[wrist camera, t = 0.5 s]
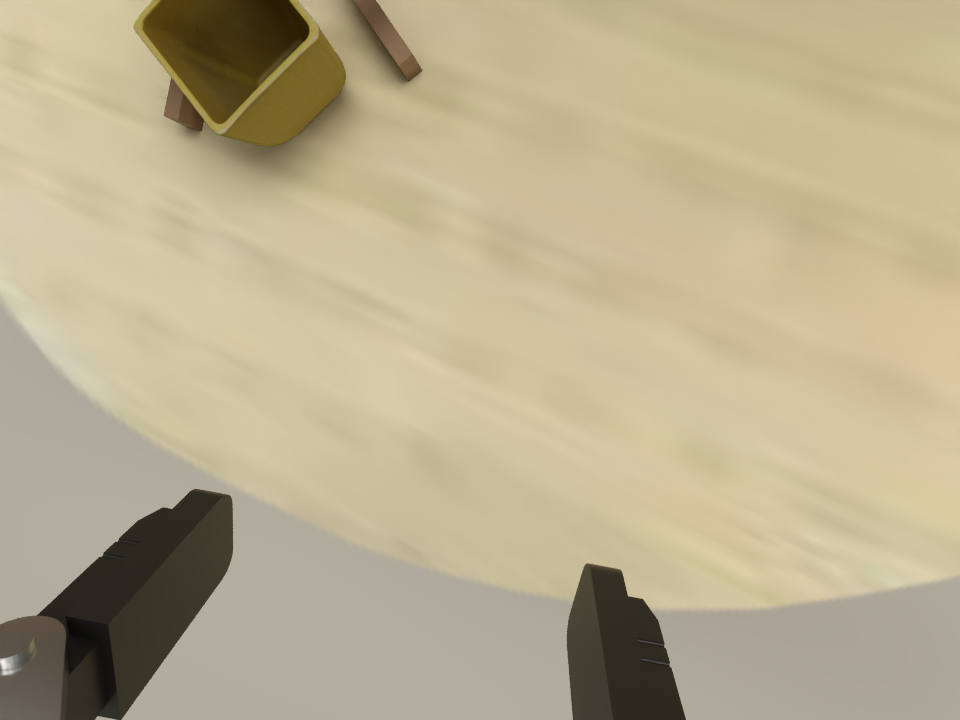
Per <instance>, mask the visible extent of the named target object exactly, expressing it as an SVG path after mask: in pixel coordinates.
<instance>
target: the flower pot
mask: <svg viewBox="0 0 960 720" xmlns="http://www.w3.org/2000/svg"><path fill="white" fill-rule="evenodd" d="M134 30H135V31H136V33H137V34H138V36H139V37H140V38H141V40H142V41H143V42H144V43H145V44H146V46H147V47H148V48H149V49H150V51H151V52H152V53H153V55H154V56H155V57H156V58H157V60H158V61H159V62H160V63H161V65H162V66H163V67H164V68H165V70H166V71H167V72H168V74H169V75H170V76H171V78H172V79H173V80H174V81H175V83H176V84H177V85H178V87H179V88H180V89H181V91H182V92H183V93H184V94H185V96H186V97H187V98H188V99H189V101H190V102H191V103H192V105H193V106H194V108H195V109H196V110H197V111H198V113H199V114H200V115H201V116H202V118H203V119H204V120H205V122H206V123H207V124H208V126H209V127H210V128H211V129H212V130H213V131H214V132H215V133H216V134H218V135H221V136H225V137H228V138H232V139H236V140H240V141H244V142H248V143H252V144H256V145H261V146H274V145H278V144H282V143H284V142H286V141H288V140H290V139H291V138H293V137H294V136H296V135H297V134H299V133H300V132H301V131H302V130H303V129H304V128H305V127H306V126H307V125H308V124H309V123H310V122H311V121H312V120H313V119H314V118H315V117H316V116H317V115H318V114H319V113H320V112H321V111H322V110H323V109H324V108H325V107H326V106H327V105H328V104H329V103H330V102H331V101H332V100H333V99H334V98H335V97H337V95H338V94H339V93H340V91H341V90H342V88H343V86H344V84H345V79H346V74H345V69H344V66H343V63H342V61H341V60H340V58H339V56H338V55H337V53H336V52H335V51H334V49H333V48H332V46H331V45H330V43H329V42H328V40H327V39H326V37H325V36H324V34H323V33H322V31H321V30H320V28H319V27H318V25H317V24H316V22H315V21H314V20H313V19H312V18H311V16H310V15H309V14H308V13H307V11H306V10H305V9H304V8H303V6H302V5H301V4H300V3H299V1H298V0H153V1H152V2H151V3H150V4H149V6H148V7H146V9H145V10H144V11H143V12H142V13H141V15H140V16H139V17H138V19H137V21H136V22H135V24H134Z"/></svg>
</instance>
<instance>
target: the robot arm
mask: <svg viewBox="0 0 960 720" xmlns="http://www.w3.org/2000/svg"><path fill="white" fill-rule="evenodd" d="M232 553H233V508H232V499H231V496H230V495H226V494H221V493H216V492H211V491H205V490H200V489H194V490H192V491H190V492H189V493H188V494H187V495H186V496H185V497H184V498H183V499H182V500H181V501H180V502H179V503H178V504H177V505H176V506H175V507H174V508H173V509H169V508H161V509H159V510H157V511H156V512H154V513H152V514H150V515H148V516H146V517H144V518H142V519H141V520H138V521H137V522H136V523H135V524H134V525H133V526H132V527H131V528H130V529H129V530H128V531H126V532H125V533H124V534H123V535H122V536H121V537H120V538H119V541H118V542H115V543H114V544H113V545H112V546H110V547H109V548H108V549H107V550H106V551H105V552H104V554H103V556H102V557H99V558H98V559H97V560H96V561H95V562H94V563H92V564H91V565H90V566H89V567H88V568H87V569H86V570H85V571H84V572H83V573H82V574H81V575H80V576H79V577H78V578H76V579H75V580H74V581H73V582H72V583H71V584H70V585H69V586H68V587H67V588H66V589H65V590H64V591H63V592H62V593H61V594H60V595H58V596H57V597H56V598H55V599H54V600H53V601H52V602H51V603H50V604H49V605H48V606H47V607H46V608H45V609H43V610H42V611H41V612H40V613H39V614H38V615H37V616H28V617H22V618H17V619H14V620H11V621H8V622H5V623H3V624H0V720H95V719H96V717H97V716H102V717H107V718H112V719H117V720H121V719H122V718H123V717H124V715H125V714H126V712H127V711H128V710H129V708H130V707H131V705H132V704H133V702H134V701H135V700H136V698H137V697H138V696H139V694H140V693H141V691H142V690H143V689H144V687H145V686H146V685H147V683H148V682H149V680H150V679H151V678H152V676H153V675H154V673H155V672H156V671H157V669H158V668H159V666H160V665H161V664H162V662H163V661H164V659H165V658H166V657H167V655H168V654H169V653H170V651H171V650H172V648H173V647H174V646H175V644H176V643H177V641H178V640H179V639H180V637H181V636H182V634H183V633H184V632H185V630H186V629H187V627H188V626H189V624H190V623H191V622H192V621H193V619H194V618H195V616H196V615H197V614H198V612H199V611H200V609H201V608H202V607H203V605H204V604H205V602H206V601H207V600H208V598H209V597H210V595H211V594H212V593H213V591H214V590H215V588H216V587H217V586H218V584H219V583H220V582H221V580H222V579H223V577H224V575H225V574H226V572H227V569H228V567H229V565H230V561H231V558H232ZM567 650H568V664H569V675H570V688H571V701H572V712H573V720H686V718H685V715H684V711H683V708H682V704H681V701H680V697H679V693H678V690H677V686H676V683H675V679H674V676H673V672H672V669H671V667H670V662H669V658H668V654H667V651H666V648H664V640H663V636H662V633H661V629H660V626H659V622H658V620H657V619H656V617H655V616H654V614H653V613H652V611H651V610H650V608H649V607H648V606H647V604H646V603H645V601H644V600H643V599H639V598H634V597H629V596H628V595H627V591H626V586H625V582H624V578H623V574H622V571H621V570H620V569H615V568H609V567H604V566H599V565H593V564H588V563H587V564H586V565H585V566H584V569H583V572H582V575H581V578H580V582H579V585H578V588H577V592H576V595H575V599H574V602H573V605H572V609H571V612H570V616H569V621H568V629H567Z"/></svg>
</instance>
